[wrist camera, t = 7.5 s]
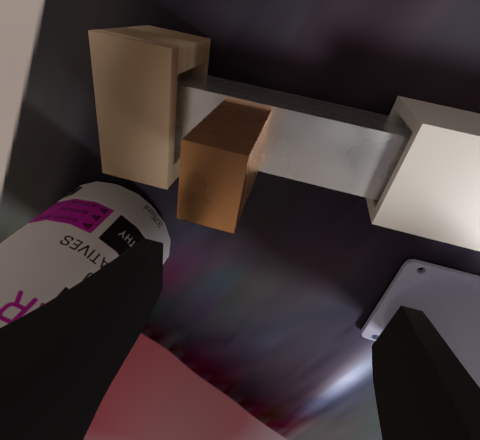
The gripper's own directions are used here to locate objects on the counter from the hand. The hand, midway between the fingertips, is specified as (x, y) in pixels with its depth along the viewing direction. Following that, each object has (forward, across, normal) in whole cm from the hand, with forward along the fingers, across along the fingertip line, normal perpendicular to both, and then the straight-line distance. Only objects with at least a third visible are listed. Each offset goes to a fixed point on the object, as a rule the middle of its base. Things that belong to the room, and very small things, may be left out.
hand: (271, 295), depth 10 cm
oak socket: (+10, +7, -2) cm, 13 cm away
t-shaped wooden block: (+10, 0, -2) cm, 11 cm away
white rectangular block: (+10, -8, -2) cm, 13 cm away
